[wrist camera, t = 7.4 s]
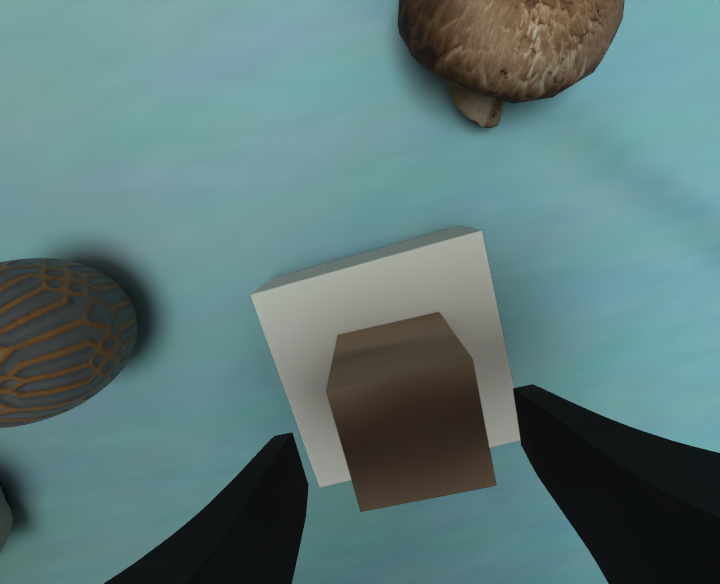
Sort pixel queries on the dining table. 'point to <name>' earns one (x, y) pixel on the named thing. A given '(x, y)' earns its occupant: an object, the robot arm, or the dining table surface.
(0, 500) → the ceramic sculpture
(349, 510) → the dining table surface
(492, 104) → the mushroom
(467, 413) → the walnut block
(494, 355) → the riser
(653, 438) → the robot arm
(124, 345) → the vase
